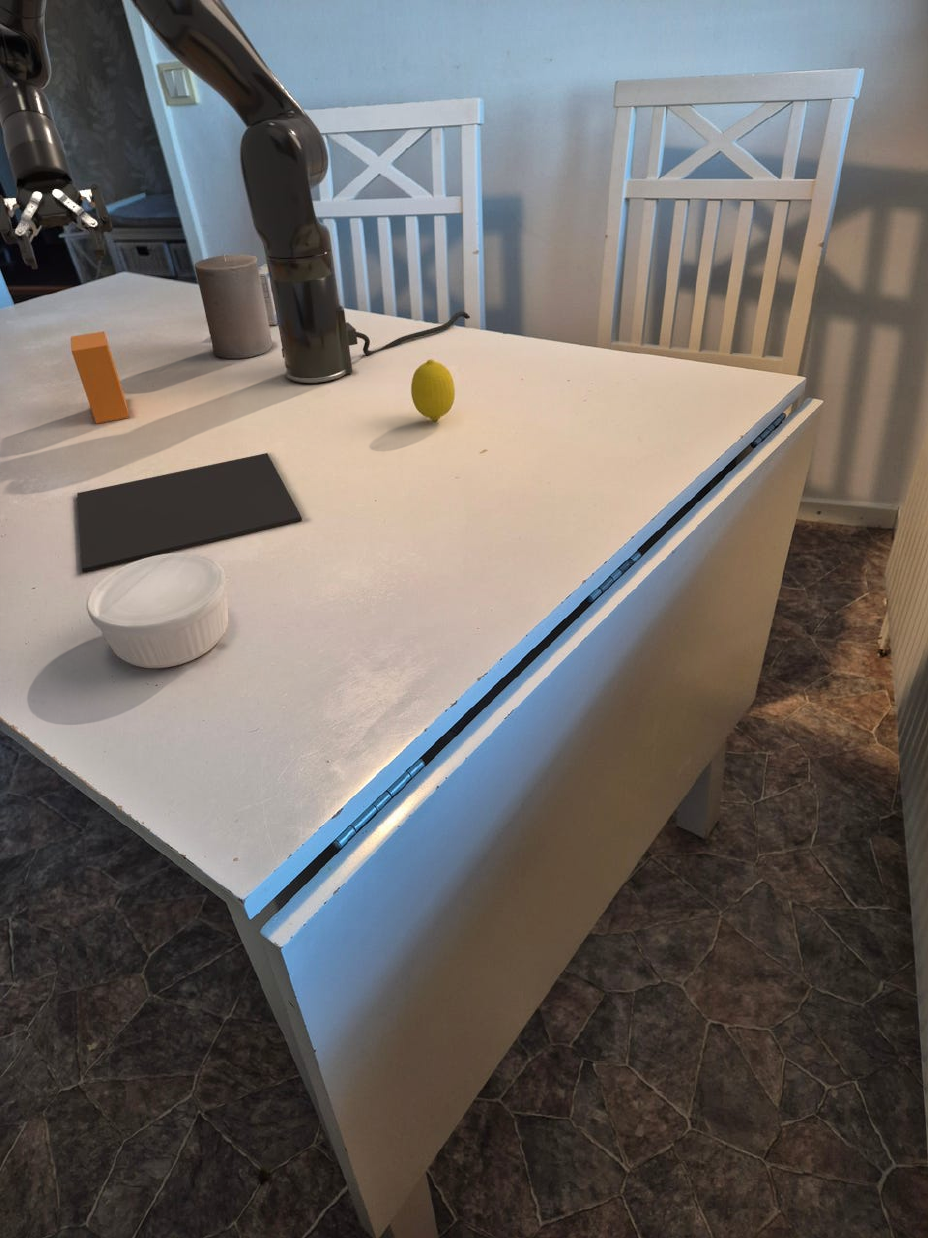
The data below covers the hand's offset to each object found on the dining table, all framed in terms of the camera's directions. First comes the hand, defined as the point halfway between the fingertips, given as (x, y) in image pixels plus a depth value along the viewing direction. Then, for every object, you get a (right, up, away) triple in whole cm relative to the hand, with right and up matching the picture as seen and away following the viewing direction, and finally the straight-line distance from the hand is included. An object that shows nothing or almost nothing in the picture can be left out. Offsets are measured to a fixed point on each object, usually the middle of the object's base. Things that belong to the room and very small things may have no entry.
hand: (66, 261), depth 112 cm
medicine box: (+20, +5, +36) cm, 41 cm away
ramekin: (+30, -51, -42) cm, 73 cm away
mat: (+24, -37, -23) cm, 50 cm away
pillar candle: (+19, -5, +22) cm, 29 cm away
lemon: (+51, -24, -6) cm, 57 cm away
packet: (+5, -20, +2) cm, 21 cm away
